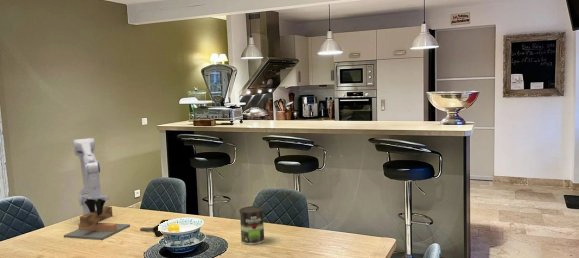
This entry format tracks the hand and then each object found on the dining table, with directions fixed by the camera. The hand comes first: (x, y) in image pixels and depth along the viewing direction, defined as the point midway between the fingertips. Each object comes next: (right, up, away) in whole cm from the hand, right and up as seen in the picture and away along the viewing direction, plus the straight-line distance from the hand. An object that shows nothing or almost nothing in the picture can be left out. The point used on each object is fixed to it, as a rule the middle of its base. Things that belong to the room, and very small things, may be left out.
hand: (96, 214), depth 216 cm
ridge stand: (0, -9, +1) cm, 9 cm away
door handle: (+31, -8, 0) cm, 32 cm away
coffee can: (+78, -8, -22) cm, 82 cm away
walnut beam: (0, -4, 0) cm, 4 cm away
